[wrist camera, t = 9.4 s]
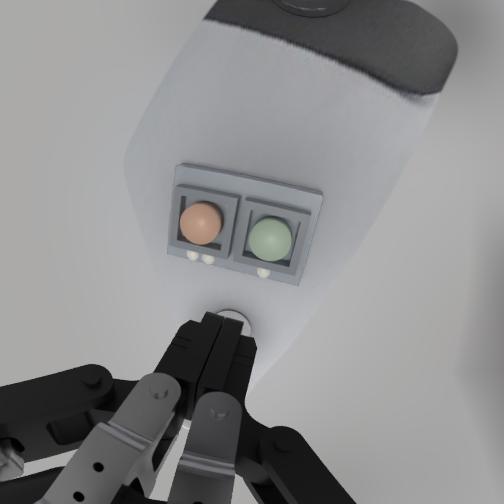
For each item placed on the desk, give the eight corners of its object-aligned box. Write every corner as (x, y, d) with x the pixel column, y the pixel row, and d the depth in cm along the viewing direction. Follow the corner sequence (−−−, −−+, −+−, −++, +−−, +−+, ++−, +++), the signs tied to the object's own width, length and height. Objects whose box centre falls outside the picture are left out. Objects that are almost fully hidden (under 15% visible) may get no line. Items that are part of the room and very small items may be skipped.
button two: (188, 197, 29) (182, 201, 28) (226, 205, 29) (221, 209, 28) (184, 233, 31) (178, 239, 29) (220, 242, 31) (215, 248, 29)
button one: (255, 211, 29) (253, 216, 27) (296, 221, 29) (295, 226, 27) (248, 248, 31) (245, 255, 29) (286, 258, 30) (285, 265, 29)
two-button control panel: (183, 163, 31) (169, 167, 27) (321, 192, 29) (324, 199, 26) (173, 247, 35) (161, 258, 31) (298, 277, 33) (298, 293, 30)
